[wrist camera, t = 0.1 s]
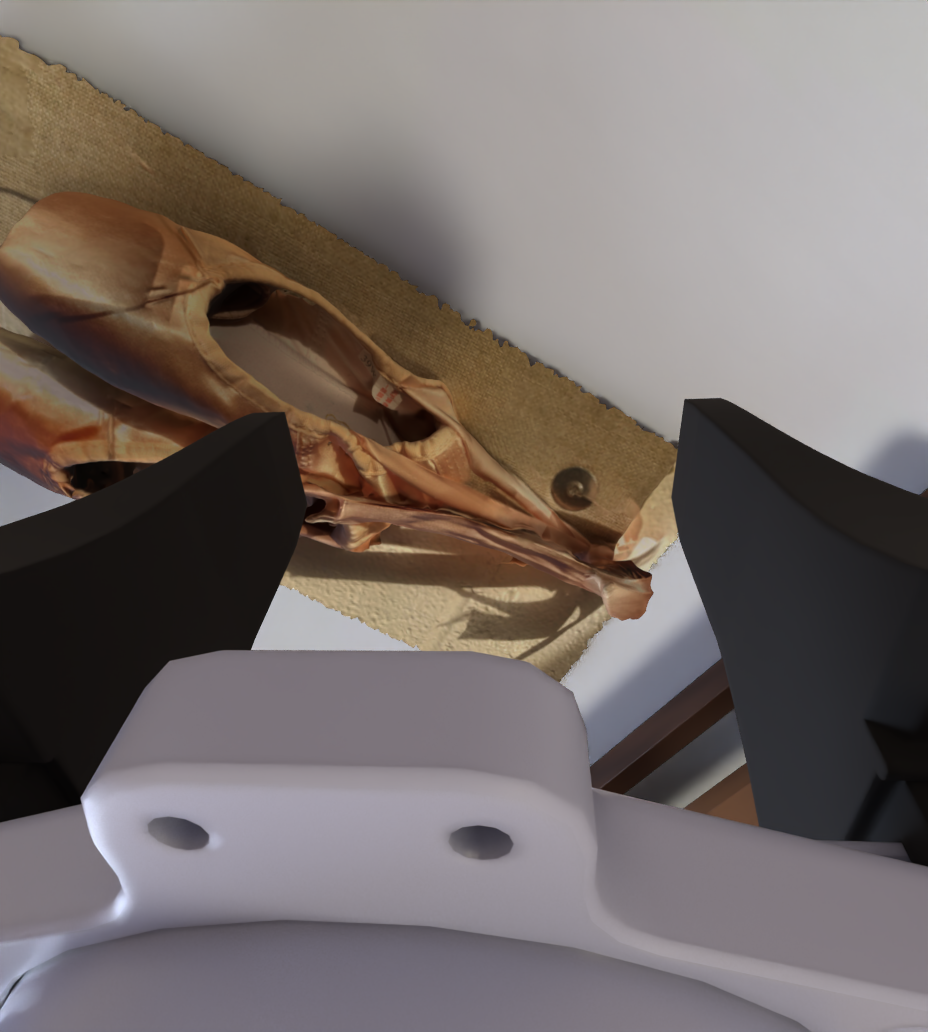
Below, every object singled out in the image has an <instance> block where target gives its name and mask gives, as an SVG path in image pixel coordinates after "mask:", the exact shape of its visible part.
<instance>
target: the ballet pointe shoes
mask: <svg viewBox="0 0 928 1032" xmlns="http://www.w3.org/2000/svg"><path fill="white" fill-rule="evenodd" d="M66 69H67V68H66V67H64V66H62V65H61V64H57V65H50V66H48V65H46V64H45V63H44V62H43V61H42V60H41V59H40V58H39V57H37V56H36V55H34V54H28V53H26V52H24V51H22V50H20V49H19V41H17V40H15V39H14V38H10V37H2V36H1V35H0V463H2V464H3V465H5V466H7V467H9V468H10V469H12V470H14V471H16V472H17V473H19V474H21V475H23V476H25V477H27V478H29V479H30V480H32V481H34V482H35V483H37V484H39V485H41V486H43V487H45V488H46V489H49V490H51V491H53V492H55V493H59V494H62V495H65V496H67V497H69V498H73V499H76V500H78V499H80V498H83V497H85V496H88V495H90V494H92V493H95V492H97V491H100V490H102V489H104V488H106V487H109V486H111V485H113V484H115V483H117V482H119V481H121V480H124V479H126V478H128V477H130V476H131V475H133V474H135V473H137V472H139V471H141V470H143V469H145V468H147V467H149V466H151V465H153V464H155V463H157V462H159V461H161V460H163V459H165V458H167V457H168V456H170V455H172V454H174V453H176V452H178V451H179V450H181V449H183V448H185V447H187V446H188V445H190V444H192V443H194V442H195V441H197V440H199V439H201V438H203V437H204V436H206V435H208V434H210V433H212V432H213V431H215V430H217V429H219V428H221V427H223V426H225V425H226V424H228V423H230V422H232V421H234V420H236V419H239V418H241V417H243V416H246V415H248V414H251V413H263V412H285V414H286V419H287V423H288V427H289V431H290V435H291V439H292V443H293V447H294V451H295V455H296V459H297V463H298V467H299V471H300V475H301V480H302V484H303V488H304V492H305V496H306V500H307V508H306V512H305V516H304V520H303V524H302V528H301V532H300V535H299V539H298V542H297V546H296V548H295V550H294V553H293V555H292V558H291V560H290V562H289V564H288V567H287V569H286V571H285V573H284V576H283V578H282V580H281V582H280V585H283V586H286V587H287V588H289V589H290V590H291V589H292V588H294V589H295V590H298V591H299V593H300V594H303V595H304V596H306V595H308V597H309V598H310V599H311V600H312V601H313V600H314V599H316V600H317V601H318V602H321V603H322V604H323V605H324V606H325V607H327V608H330V609H334V610H335V611H341V614H342V615H344V616H350V619H353V618H357V617H358V619H359V620H360V621H361V623H363V622H365V623H366V625H367V626H368V627H371V628H372V629H374V630H376V629H379V631H380V632H381V633H384V634H386V633H388V635H389V636H390V637H391V638H395V639H397V640H398V641H400V640H401V639H402V640H403V641H404V642H405V643H407V644H408V645H409V646H411V647H413V648H414V647H415V645H416V644H417V647H418V648H419V650H421V651H474V652H479V653H484V654H489V655H495V656H500V657H505V658H511V659H516V660H521V661H526V662H529V663H531V664H532V665H534V666H535V667H537V668H538V669H540V670H541V671H543V672H544V673H545V674H547V675H548V676H550V677H551V678H553V679H554V680H556V681H557V682H560V680H561V678H562V677H564V676H565V675H566V673H567V672H568V671H569V669H571V665H573V664H574V663H575V662H576V661H578V660H579V659H580V657H581V655H582V654H583V653H584V652H582V651H583V650H584V649H587V648H588V647H587V640H589V639H590V638H593V636H594V634H595V633H598V631H600V630H601V629H602V628H603V624H602V622H604V620H606V621H607V620H609V619H611V616H612V617H614V618H618V619H620V620H622V621H623V620H626V619H629V618H631V619H639V618H640V617H641V616H642V615H643V614H644V613H645V611H646V607H647V604H648V601H649V599H650V598H651V596H652V595H653V591H652V590H651V586H650V584H651V579H652V574H651V573H649V572H648V571H649V569H650V568H651V566H652V563H655V564H657V559H656V558H659V557H661V554H664V553H665V551H666V550H667V549H666V547H669V545H670V544H671V543H674V542H673V541H675V540H677V535H676V534H677V533H678V529H677V525H676V520H675V515H674V509H673V504H672V499H671V495H672V488H673V480H674V473H675V466H676V459H677V451H678V449H675V448H674V446H673V445H672V444H671V443H669V442H665V441H664V439H663V437H661V438H659V437H658V436H655V433H650V432H647V431H642V429H643V428H642V429H640V426H635V425H636V423H637V422H636V421H635V420H633V419H632V418H631V417H628V416H626V415H625V414H624V413H623V412H622V411H621V410H617V409H616V408H615V407H613V408H610V409H608V410H607V409H606V404H600V403H599V402H600V401H599V399H598V398H596V397H594V396H593V395H592V394H591V393H582V392H581V391H580V389H581V387H582V386H578V387H576V385H575V383H574V381H571V380H569V379H568V377H559V378H558V374H556V375H554V376H553V374H554V370H553V369H549V368H545V367H544V365H543V363H539V362H537V361H536V363H535V365H533V366H531V367H530V363H529V359H528V357H527V355H526V353H524V352H521V351H520V350H519V348H518V347H510V346H509V344H508V341H504V343H503V346H502V347H500V346H499V343H498V339H496V340H495V341H494V340H493V334H492V331H491V330H490V329H488V328H487V329H486V330H485V331H484V332H482V331H481V330H479V329H478V330H476V331H474V328H472V329H471V330H470V329H469V326H475V325H476V321H475V320H474V319H472V320H471V321H470V324H469V326H466V325H465V323H464V322H462V321H461V315H460V314H459V313H458V312H457V311H455V312H454V311H453V310H452V309H450V305H449V304H446V303H445V304H443V305H442V308H441V310H440V309H439V306H438V299H437V297H436V296H434V295H431V296H426V295H425V294H424V293H423V292H422V293H420V294H419V292H418V291H417V290H416V288H417V287H418V286H414V285H410V284H409V283H408V280H405V281H402V280H401V279H400V277H399V275H398V273H397V272H395V271H390V272H389V269H388V267H387V266H386V265H384V264H377V262H376V261H375V260H374V258H371V259H370V257H369V256H366V255H364V254H363V251H358V250H357V249H356V247H350V246H349V244H348V243H347V242H344V240H343V239H338V240H337V236H336V234H333V233H330V232H329V231H327V229H325V228H323V227H321V226H320V225H318V226H317V225H316V224H315V222H311V221H309V220H308V219H307V218H306V217H305V216H304V215H305V214H302V213H300V214H298V215H297V213H296V211H295V210H294V209H292V208H290V207H286V206H282V205H281V204H280V202H281V199H282V198H280V199H277V198H275V197H272V196H271V194H270V193H269V192H263V189H264V188H258V187H255V186H253V184H252V183H251V182H249V181H243V177H241V176H240V175H232V172H230V170H229V169H228V167H226V166H224V165H222V164H221V165H219V164H217V163H218V162H217V161H216V160H213V159H211V158H207V157H205V155H204V153H203V152H199V151H198V150H197V149H194V148H193V147H192V146H191V145H189V144H187V145H185V146H184V145H183V142H182V141H181V140H180V139H179V138H177V137H173V136H171V135H170V134H169V133H168V132H167V133H166V134H165V135H164V134H163V133H162V132H161V129H160V127H159V126H157V125H155V124H153V123H150V122H149V120H148V122H147V123H145V122H144V121H143V120H144V118H142V117H141V116H140V117H138V115H137V113H136V111H134V110H133V109H131V108H130V111H125V110H124V109H123V108H124V107H126V105H125V104H121V102H120V100H117V101H116V102H115V103H114V102H113V98H109V97H108V95H107V93H106V94H104V93H103V92H102V93H101V94H100V93H99V91H98V88H97V89H96V90H95V89H94V88H93V87H92V85H90V84H89V83H88V82H87V81H86V80H85V79H84V78H82V81H77V77H76V74H74V73H67V72H65V71H66Z"/></svg>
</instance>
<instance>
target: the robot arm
mask: <svg viewBox="0 0 928 1032" xmlns="http://www.w3.org/2000/svg"><path fill="white" fill-rule="evenodd" d="M671 499H672V504H673V509H674V515H675V520H676V525H677V529H678V534H679V539H680V543H681V545H682V548H683V551H684V554H685V557H686V559H687V562H688V565H689V567H690V570H691V573H692V576H693V578H694V581H695V584H696V586H697V589H698V591H699V594H700V597H701V599H702V602H703V605H704V607H705V610H706V613H707V615H708V618H709V621H710V623H711V626H712V628H713V631H714V634H715V636H716V639H717V643H718V646H719V649H720V652H721V655H722V658H723V662H724V666H725V670H726V674H727V678H728V682H729V687H730V691H731V695H732V699H733V703H734V707H735V712H736V716H737V721H738V725H739V730H740V734H741V739H742V744H743V748H744V753H745V757H746V762H747V767H748V772H749V777H750V782H751V788H752V793H753V798H754V803H755V808H756V813H757V818H758V823H759V827H757V826H753V825H749V824H745V823H740V822H736V821H732V820H728V819H723V818H719V817H715V816H711V815H707V814H702V813H698V812H694V811H690V810H685V809H681V808H677V807H673V806H668V805H664V804H660V803H656V802H651V801H647V800H643V799H639V798H634V797H630V796H626V795H622V794H617V793H613V792H609V791H605V790H600V789H596V788H592V784H591V774H590V764H589V754H588V743H587V733H586V727H585V724H584V722H583V719H582V716H581V713H580V711H579V708H578V705H577V703H576V700H575V697H574V694H573V692H572V691H570V690H569V689H567V688H566V687H564V686H563V685H562V684H560V683H559V682H557V681H556V680H554V679H553V678H551V677H550V676H548V675H547V674H545V673H544V672H543V671H541V670H540V669H538V668H537V667H535V666H534V665H532V664H531V663H529V662H526V661H521V660H516V659H511V658H505V657H500V656H495V655H489V654H484V653H479V652H474V651H315V650H251V648H252V645H253V643H254V640H255V638H256V635H257V633H258V631H259V629H260V627H261V624H262V622H263V620H264V618H265V616H266V613H267V611H268V609H269V607H270V604H271V602H272V600H273V598H274V596H275V593H276V591H277V589H278V587H279V585H280V582H281V580H282V578H283V576H284V573H285V571H286V569H287V567H288V564H289V562H290V560H291V558H292V555H293V553H294V550H295V548H296V546H297V542H298V539H299V535H300V532H301V528H302V524H303V520H304V516H305V512H306V508H307V500H306V496H305V492H304V488H303V484H302V480H301V475H300V471H299V467H298V463H297V459H296V455H295V451H294V447H293V443H292V439H291V435H290V431H289V427H288V423H287V419H286V414H285V412H263V413H251V414H248V415H246V416H243V417H241V418H239V419H236V420H234V421H232V422H230V423H228V424H226V425H225V426H223V427H221V428H219V429H217V430H215V431H213V432H212V433H210V434H208V435H206V436H204V437H203V438H201V439H199V440H197V441H195V442H194V443H192V444H190V445H188V446H187V447H185V448H183V449H181V450H179V451H178V452H176V453H174V454H172V455H170V456H168V457H167V458H165V459H163V460H161V461H159V462H157V463H155V464H153V465H151V466H149V467H147V468H145V469H143V470H141V471H139V472H137V473H135V474H133V475H131V476H130V477H128V478H126V479H124V480H121V481H119V482H117V483H115V484H113V485H111V486H109V487H106V488H104V489H102V490H100V491H97V492H95V493H92V494H90V495H88V496H85V497H83V498H80V499H78V500H75V501H73V502H70V503H68V504H65V505H63V506H60V507H57V508H55V509H52V510H49V511H46V512H43V513H40V514H37V515H34V516H31V517H28V518H25V519H22V520H19V521H16V522H13V523H10V524H7V525H4V526H1V527H0V1032H928V498H926V497H923V496H920V495H917V494H914V493H911V492H909V491H906V490H903V489H901V488H898V487H896V486H893V485H891V484H888V483H886V482H883V481H881V480H878V479H876V478H873V477H871V476H868V475H866V474H864V473H861V472H859V471H857V470H855V469H852V468H850V467H848V466H846V465H844V464H842V463H840V462H838V461H836V460H834V459H832V458H830V457H828V456H826V455H824V454H822V453H820V452H818V451H816V450H814V449H812V448H810V447H808V446H807V445H805V444H803V443H801V442H799V441H798V440H796V439H794V438H792V437H790V436H789V435H787V434H785V433H783V432H782V431H780V430H778V429H776V428H775V427H773V426H771V425H770V424H768V423H766V422H765V421H763V420H761V419H759V418H758V417H756V416H754V415H753V414H751V413H749V412H748V411H746V410H744V409H742V408H740V407H739V406H737V405H735V404H733V403H731V402H729V401H727V400H724V399H722V398H710V399H685V400H684V407H683V415H682V422H681V429H680V437H679V444H678V451H677V459H676V466H675V473H674V480H673V488H672V495H671Z"/></svg>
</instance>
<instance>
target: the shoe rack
mask: <svg viewBox="0 0 928 1032" xmlns="http://www.w3.org/2000/svg"><path fill="white" fill-rule="evenodd" d="M920 496H923V497H926V498H928V489H927V490H926V491H924V492H923V493H922V494H921V495H920ZM734 708H735V707H734V703H733V699H732V695H731V691H730V687H729V682H728V678H727V674H726V670H725V666H724V662H723V658H722V659H721V660H719V661H718V662H717V663H716V664H714V665H713V666H712V667H711V668H710V669H708V670H707V671H706V672H705V673H704V674H702V675H701V676H700V677H699V678H697V679H696V680H695V681H694V682H693V683H691V684H690V685H689V686H688V687H687V688H685V689H684V690H683V691H682V692H680V693H679V694H678V695H677V696H676V697H674V698H673V699H672V700H671V701H670V702H668V703H667V704H666V705H665V706H663V707H662V708H661V709H660V710H659V711H657V712H656V713H655V714H654V715H653V716H651V717H650V718H649V719H648V720H647V721H645V722H644V723H643V724H642V725H640V726H639V727H638V728H637V729H636V730H634V731H633V732H632V733H631V734H630V735H628V736H627V737H626V738H625V739H623V740H622V741H621V742H620V743H619V744H617V745H616V746H615V747H614V748H613V749H611V750H610V751H609V752H608V753H606V754H605V755H604V756H603V757H602V758H600V759H599V760H598V761H597V762H596V763H594V764H593V765H592V766H591V767H590V774H591V784H592V788H596V789H600V790H605V791H609V792H613V793H617V794H622V795H623V794H625V793H626V792H627V791H628V790H630V789H631V788H632V787H634V786H635V785H636V784H637V783H639V782H640V781H641V780H643V779H644V778H645V777H646V776H648V775H649V774H650V773H652V772H653V771H654V770H656V769H657V768H658V767H659V766H661V765H662V764H663V763H665V762H666V761H667V760H668V759H670V758H671V757H672V756H674V755H675V754H676V753H677V752H679V751H680V750H681V749H683V748H684V747H685V746H686V745H688V744H689V743H690V742H692V741H693V740H694V739H695V738H697V737H698V736H699V735H701V734H702V733H703V732H704V731H706V730H707V729H708V728H710V727H711V726H712V725H713V724H715V723H716V722H717V721H719V720H720V719H721V718H722V717H724V716H725V715H726V714H728V713H729V712H730V711H731V710H733V709H734ZM684 809H685V810H690V811H694V812H698V813H702V814H707V815H711V816H715V817H719V818H723V819H728V820H732V821H736V822H740V823H745V824H749V825H753V826H757V827H759V823H758V818H757V813H756V808H755V803H754V798H753V793H752V788H751V782H750V777H749V772H748V767H747V763H745V764H744V765H743V766H741V767H740V768H738V769H737V770H736V771H734V772H733V773H732V774H730V775H729V776H727V777H726V778H725V779H723V780H722V781H721V782H719V783H718V784H716V785H715V786H714V787H712V788H711V789H710V790H708V791H707V792H705V793H704V794H703V795H701V796H700V797H699V798H697V799H696V800H694V801H693V802H692V803H690V804H689V805H688V806H686V807H685V808H684Z"/></svg>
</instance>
